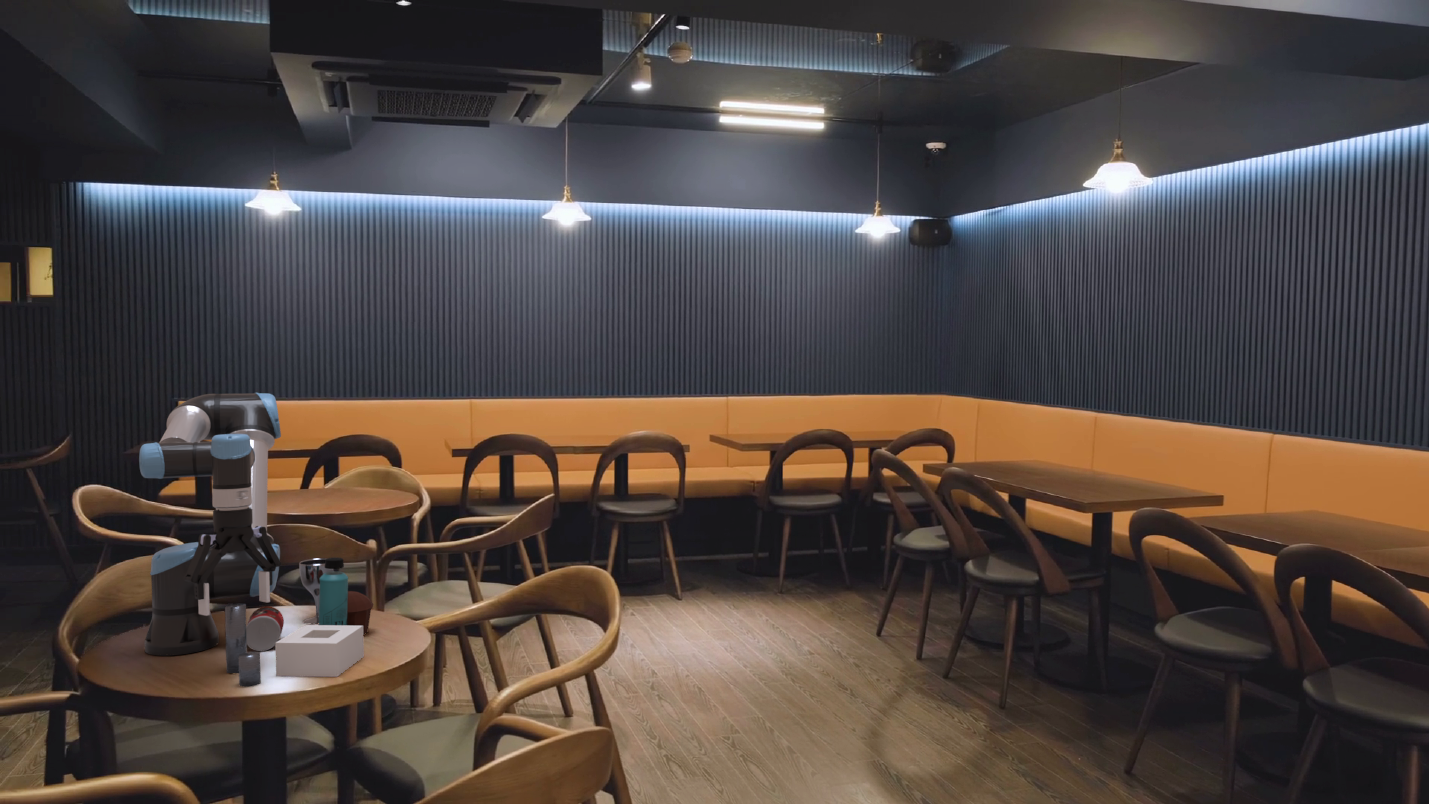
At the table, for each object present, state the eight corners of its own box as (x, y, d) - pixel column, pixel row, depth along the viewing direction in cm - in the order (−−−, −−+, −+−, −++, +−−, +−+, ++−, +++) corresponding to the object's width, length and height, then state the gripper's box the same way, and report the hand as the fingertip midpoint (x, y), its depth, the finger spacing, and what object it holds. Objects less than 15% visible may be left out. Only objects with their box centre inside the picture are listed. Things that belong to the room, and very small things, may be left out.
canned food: (280, 601, 243) (277, 613, 232) (287, 634, 243) (283, 647, 233) (245, 609, 240) (240, 620, 230) (252, 642, 241) (247, 655, 231)
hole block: (276, 675, 214) (275, 642, 214) (306, 656, 228) (305, 625, 228) (337, 676, 213) (336, 643, 213) (363, 656, 227) (363, 625, 227)
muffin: (314, 640, 240) (314, 598, 240) (331, 628, 251) (330, 587, 251) (366, 640, 240) (365, 598, 240) (380, 627, 252) (379, 587, 251)
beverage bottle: (333, 649, 232) (336, 562, 232) (310, 645, 235) (313, 558, 234) (353, 643, 238) (356, 557, 238) (330, 639, 241) (333, 554, 240)
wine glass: (307, 626, 253) (306, 566, 252) (296, 620, 259) (294, 561, 258) (339, 620, 258) (338, 561, 257) (327, 614, 264) (326, 557, 263)
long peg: (222, 673, 216) (221, 607, 215) (232, 667, 220) (231, 603, 219) (241, 674, 215) (239, 608, 215) (251, 668, 219) (249, 603, 219)
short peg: (235, 686, 207) (234, 657, 207) (245, 680, 211) (244, 651, 211) (254, 686, 207) (253, 657, 207) (264, 680, 211) (263, 651, 211)
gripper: (184, 516, 203) (187, 622, 204) (296, 501, 224) (298, 598, 225) (163, 513, 207) (166, 618, 208) (275, 499, 228) (277, 594, 229)
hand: (235, 608), depth 217 cm, fingers open, 13 cm apart
